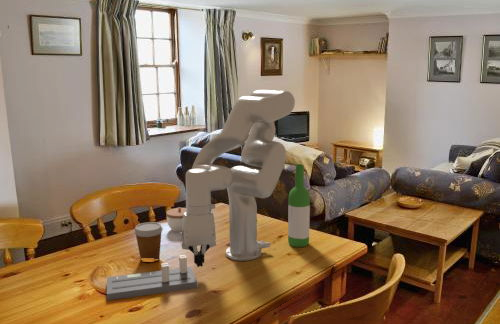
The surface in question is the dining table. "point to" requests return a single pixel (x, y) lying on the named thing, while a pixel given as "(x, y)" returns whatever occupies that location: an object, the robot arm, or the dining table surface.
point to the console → (149, 283)
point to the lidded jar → (175, 218)
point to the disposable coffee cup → (149, 239)
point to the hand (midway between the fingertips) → (199, 265)
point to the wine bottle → (299, 211)
